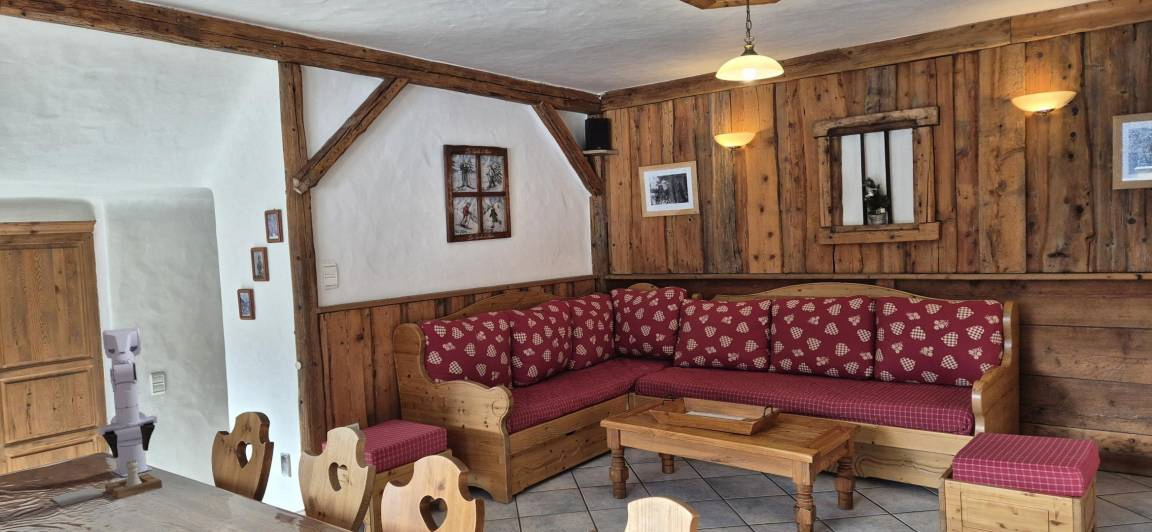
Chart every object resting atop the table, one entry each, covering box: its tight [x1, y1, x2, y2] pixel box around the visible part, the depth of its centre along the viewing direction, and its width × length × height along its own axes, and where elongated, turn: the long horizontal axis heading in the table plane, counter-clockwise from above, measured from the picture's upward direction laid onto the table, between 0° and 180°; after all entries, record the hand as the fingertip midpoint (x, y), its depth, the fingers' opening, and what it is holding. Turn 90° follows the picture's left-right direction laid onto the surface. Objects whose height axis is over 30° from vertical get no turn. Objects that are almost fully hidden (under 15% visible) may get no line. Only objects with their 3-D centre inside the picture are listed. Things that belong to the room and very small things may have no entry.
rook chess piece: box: [125, 460, 142, 487], centre depth 214 cm, size 4×4×8 cm
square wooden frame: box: [104, 473, 163, 500], centre depth 214 cm, size 11×11×2 cm
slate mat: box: [50, 486, 104, 508], centre depth 210 cm, size 10×10×1 cm
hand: (130, 453), depth 214 cm, fingers open, 7 cm apart
